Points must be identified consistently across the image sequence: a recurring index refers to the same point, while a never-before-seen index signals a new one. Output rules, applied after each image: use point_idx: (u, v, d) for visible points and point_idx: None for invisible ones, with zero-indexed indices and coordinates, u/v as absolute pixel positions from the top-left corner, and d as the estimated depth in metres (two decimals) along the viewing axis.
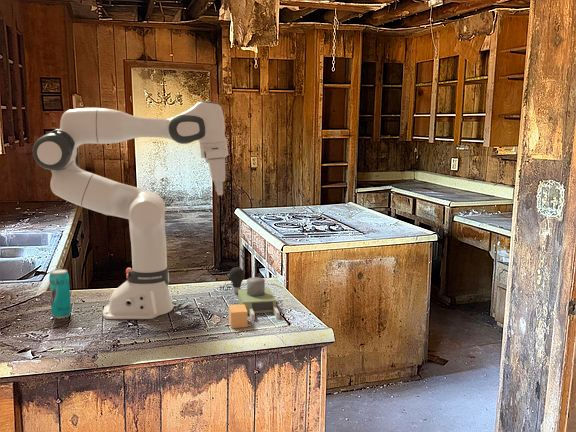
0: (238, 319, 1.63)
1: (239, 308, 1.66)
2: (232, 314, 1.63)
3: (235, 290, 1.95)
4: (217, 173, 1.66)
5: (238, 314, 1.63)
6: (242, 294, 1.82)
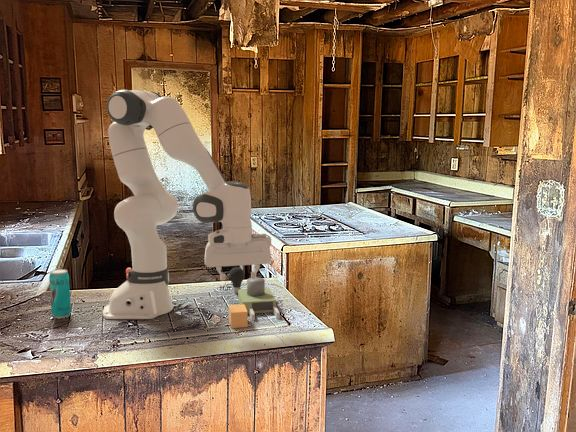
0: (238, 319, 1.63)
1: (239, 308, 1.66)
2: (232, 314, 1.62)
3: (235, 290, 1.95)
4: None
5: (238, 314, 1.63)
6: (242, 294, 1.82)
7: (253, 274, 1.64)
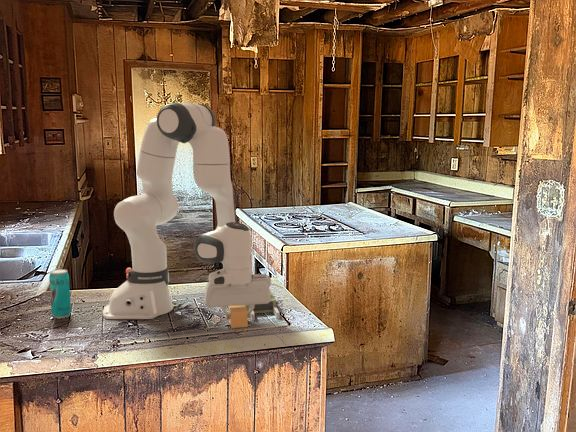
0: (238, 318, 1.63)
1: (239, 308, 1.66)
2: (232, 314, 1.62)
3: None
4: (205, 296, 1.64)
5: (238, 313, 1.63)
6: None
7: (248, 314, 1.66)
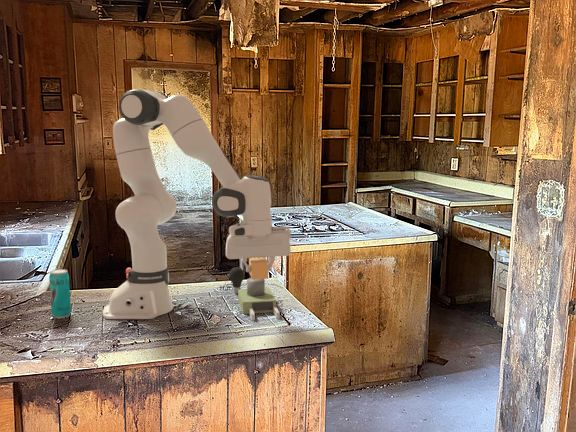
0: (258, 270, 1.64)
1: (259, 260, 1.67)
2: (253, 265, 1.64)
3: (235, 290, 1.95)
4: None
5: (259, 265, 1.64)
6: (242, 294, 1.82)
7: (268, 266, 1.67)
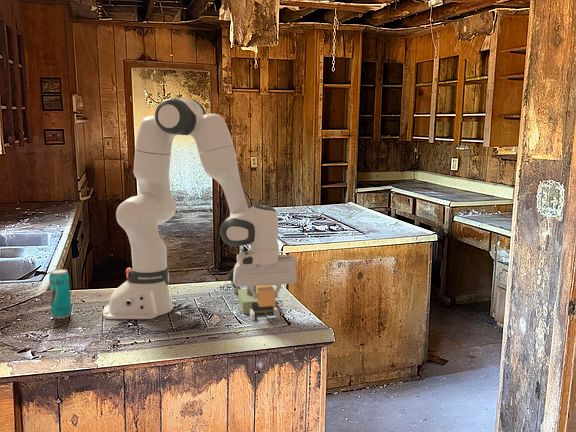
0: (266, 297, 1.68)
1: (266, 288, 1.70)
2: (260, 293, 1.67)
3: (235, 290, 1.95)
4: (233, 276, 1.69)
5: (266, 293, 1.67)
6: (242, 294, 1.82)
7: (275, 294, 1.71)
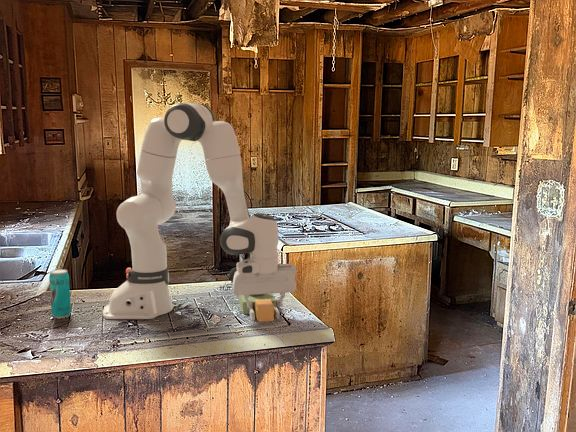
0: (265, 313, 1.69)
1: (265, 303, 1.71)
2: (259, 308, 1.68)
3: None
4: (233, 285, 1.69)
5: (265, 308, 1.68)
6: None
7: (278, 302, 1.72)
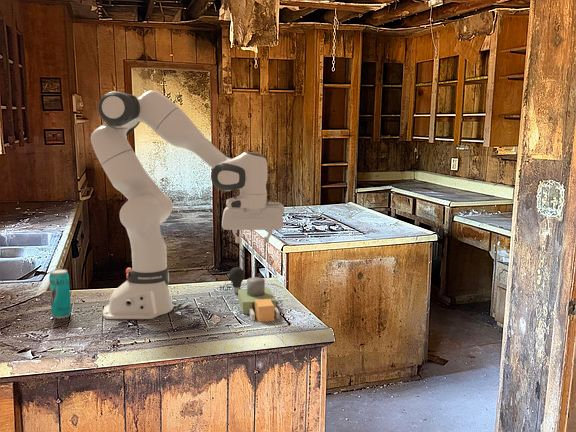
0: (265, 313, 1.69)
1: (265, 303, 1.71)
2: (260, 308, 1.68)
3: (235, 290, 1.95)
4: (222, 220, 1.75)
5: (265, 308, 1.68)
6: (242, 294, 1.82)
7: (266, 239, 1.78)
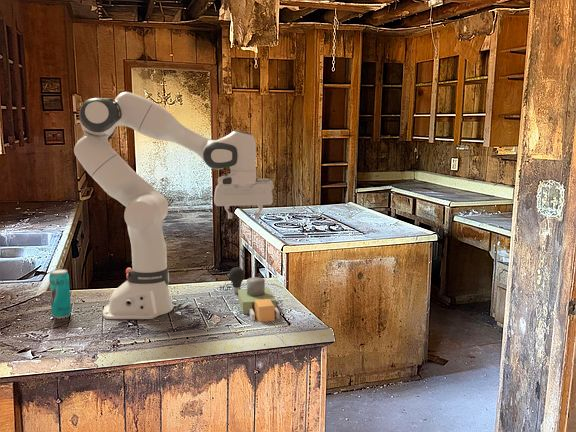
0: (265, 313, 1.69)
1: (265, 303, 1.71)
2: (260, 308, 1.68)
3: (235, 290, 1.95)
4: (214, 197, 1.83)
5: (266, 308, 1.68)
6: (242, 294, 1.82)
7: (257, 214, 1.86)
